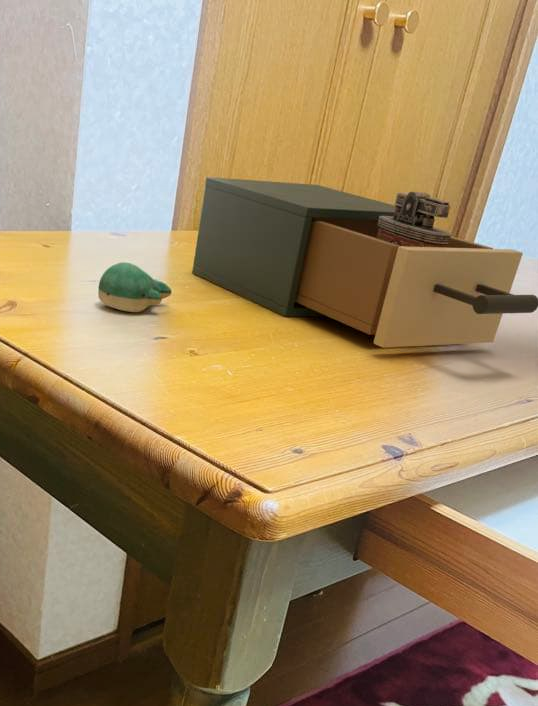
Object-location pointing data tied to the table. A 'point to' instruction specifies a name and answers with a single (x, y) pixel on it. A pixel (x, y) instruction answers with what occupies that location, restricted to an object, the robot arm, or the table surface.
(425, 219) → the lighter
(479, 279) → the drawer
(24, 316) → the table surface
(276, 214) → the cabinet
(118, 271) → the whale figurine
